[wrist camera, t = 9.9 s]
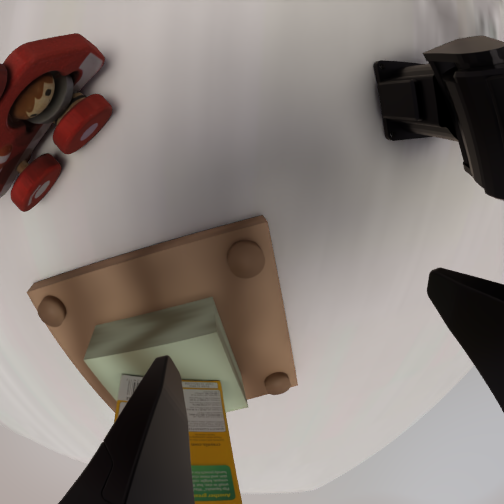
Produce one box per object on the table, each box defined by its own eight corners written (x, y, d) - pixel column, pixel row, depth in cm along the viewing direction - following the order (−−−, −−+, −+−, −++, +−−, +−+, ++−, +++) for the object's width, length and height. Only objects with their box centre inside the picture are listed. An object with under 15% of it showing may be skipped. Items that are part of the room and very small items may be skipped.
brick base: (262, 215, 20) (284, 245, 16) (293, 374, 29) (309, 414, 24) (34, 283, 19) (5, 321, 14) (123, 410, 27) (119, 449, 22)
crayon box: (125, 396, 19) (117, 534, 8) (120, 372, 17) (104, 526, 7) (217, 402, 20) (241, 538, 10) (221, 379, 19) (250, 532, 9)
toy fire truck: (141, 90, 15) (83, 57, 6) (33, 216, 17) (-48, 286, 8) (85, 31, 12) (9, -21, 3) (-14, 159, 14) (-103, 197, 5)
